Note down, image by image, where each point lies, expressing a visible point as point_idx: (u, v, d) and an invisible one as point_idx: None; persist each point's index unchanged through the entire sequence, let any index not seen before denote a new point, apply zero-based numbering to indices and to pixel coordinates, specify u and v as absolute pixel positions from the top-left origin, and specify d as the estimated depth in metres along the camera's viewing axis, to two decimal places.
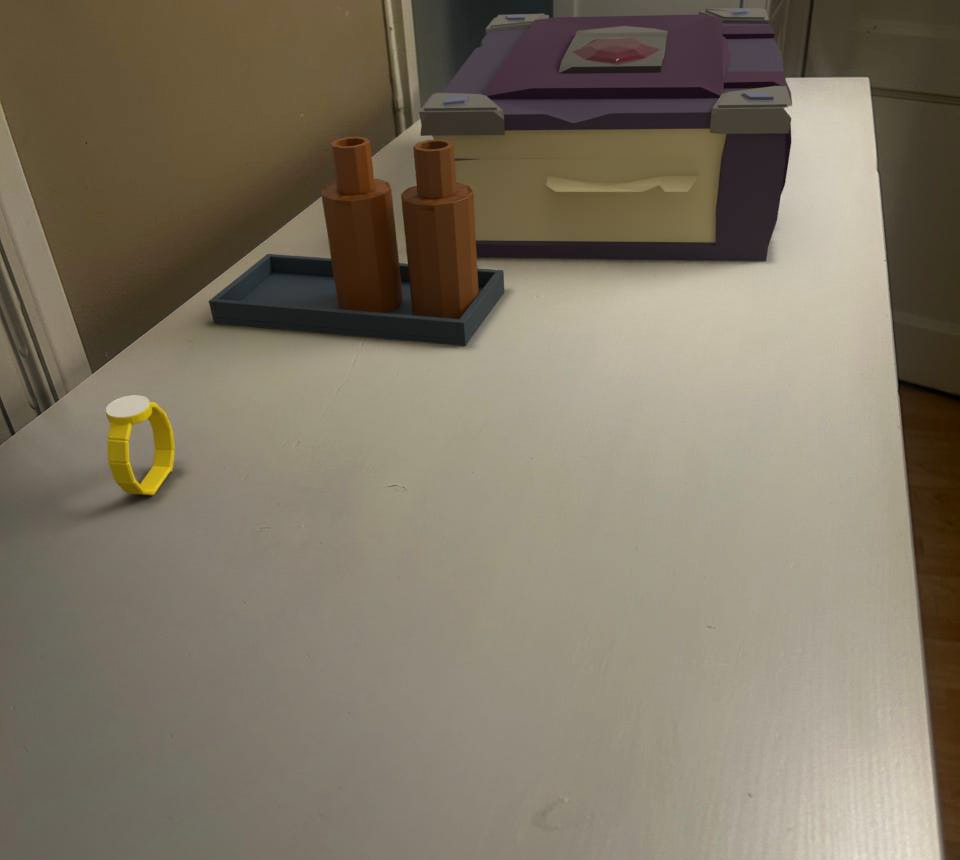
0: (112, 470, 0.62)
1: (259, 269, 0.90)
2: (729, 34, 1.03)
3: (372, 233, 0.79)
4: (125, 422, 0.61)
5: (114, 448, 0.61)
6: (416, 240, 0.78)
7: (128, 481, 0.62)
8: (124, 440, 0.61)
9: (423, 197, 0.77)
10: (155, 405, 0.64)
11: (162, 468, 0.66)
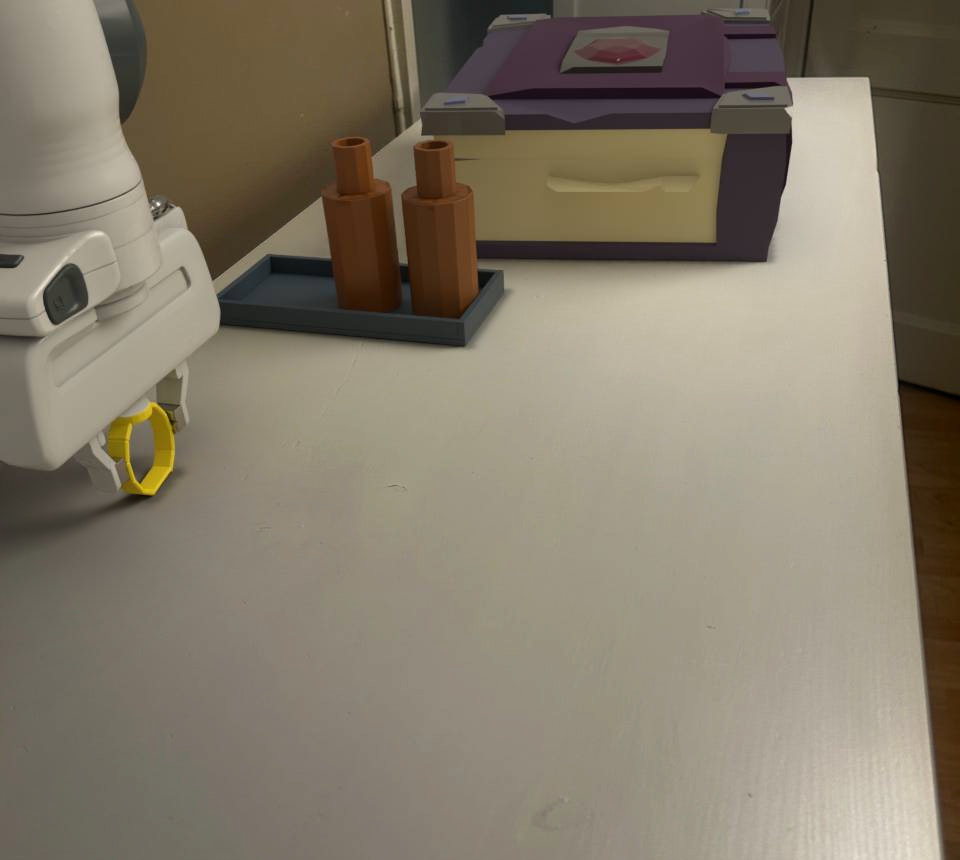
0: None
1: (259, 269, 0.90)
2: (731, 34, 1.03)
3: (372, 233, 0.79)
4: (125, 422, 0.61)
5: (114, 448, 0.61)
6: (416, 240, 0.78)
7: (128, 481, 0.62)
8: (124, 440, 0.61)
9: (423, 197, 0.77)
10: (155, 405, 0.64)
11: (162, 468, 0.66)
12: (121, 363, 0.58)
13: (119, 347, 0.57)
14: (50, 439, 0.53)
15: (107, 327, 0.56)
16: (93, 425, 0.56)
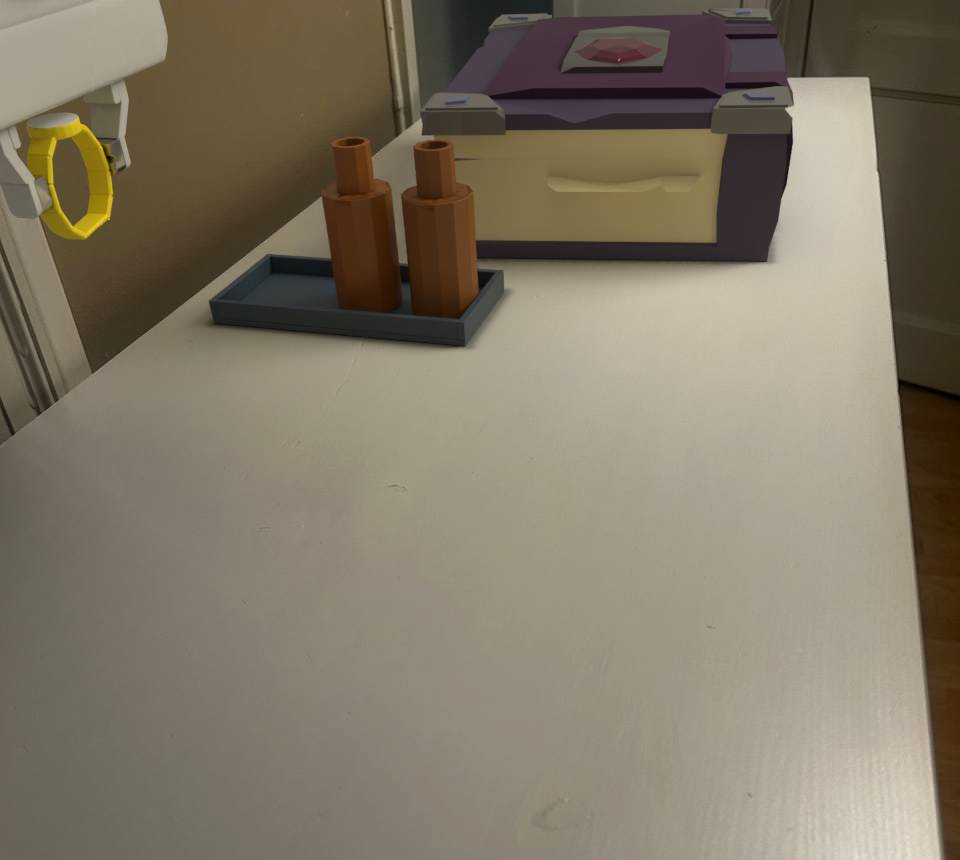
0: None
1: (259, 269, 0.90)
2: (732, 34, 1.03)
3: (372, 233, 0.79)
4: (49, 135, 0.52)
5: (35, 166, 0.52)
6: (416, 240, 0.78)
7: (53, 211, 0.53)
8: (46, 156, 0.52)
9: (423, 197, 0.77)
10: (87, 129, 0.54)
11: (97, 215, 0.57)
12: (39, 47, 0.49)
13: (35, 25, 0.48)
14: None
15: None
16: (2, 111, 0.47)
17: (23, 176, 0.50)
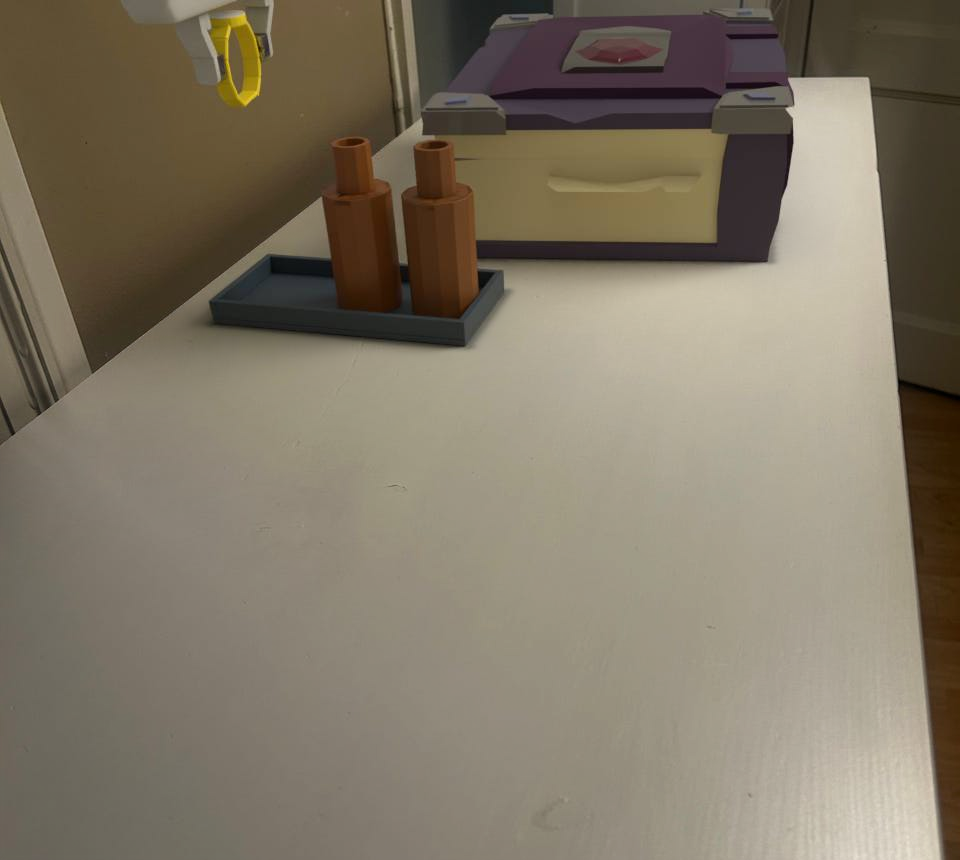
0: None
1: (259, 269, 0.90)
2: (733, 34, 1.03)
3: (372, 233, 0.79)
4: (225, 24, 0.71)
5: (215, 47, 0.71)
6: (416, 240, 0.78)
7: (226, 81, 0.72)
8: (224, 39, 0.71)
9: (423, 197, 0.77)
10: (247, 24, 0.74)
11: (250, 91, 0.76)
12: None
13: None
14: None
15: None
16: None
17: (211, 51, 0.69)
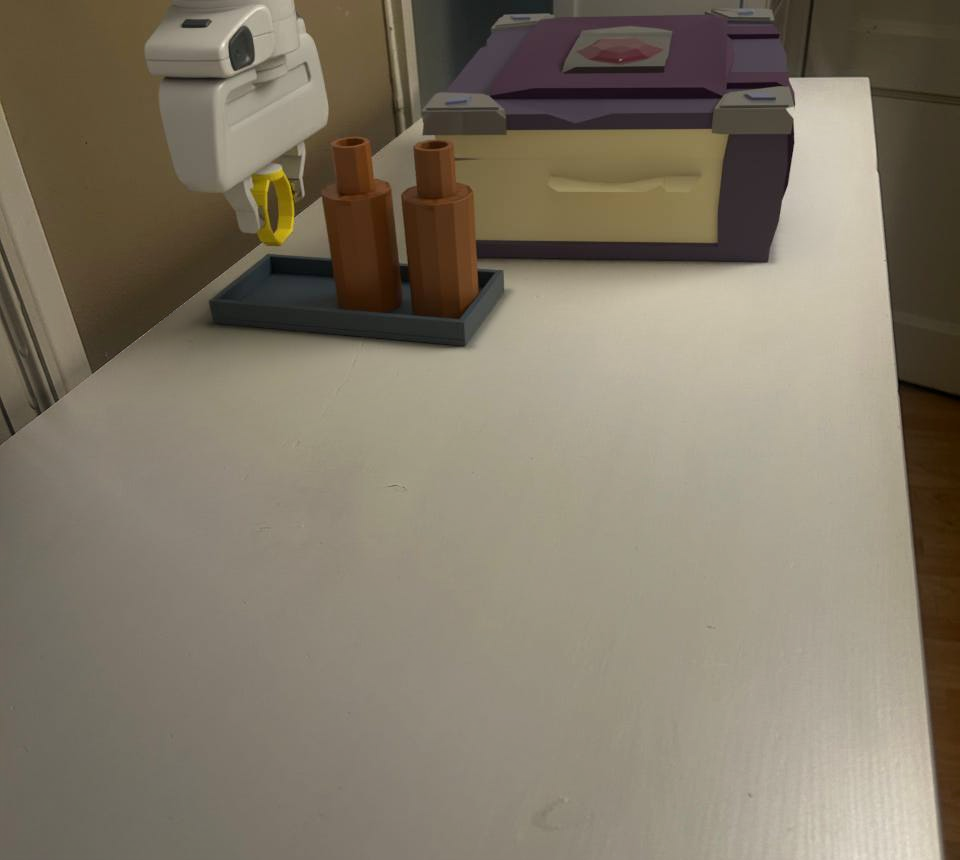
0: None
1: (259, 269, 0.90)
2: (734, 34, 1.03)
3: (372, 233, 0.79)
4: (265, 179, 0.80)
5: (256, 199, 0.80)
6: (416, 240, 0.78)
7: (265, 228, 0.81)
8: (264, 192, 0.80)
9: (423, 197, 0.77)
10: (283, 173, 0.82)
11: (285, 229, 0.85)
12: (267, 124, 0.77)
13: (265, 111, 0.76)
14: (224, 164, 0.72)
15: (258, 93, 0.75)
16: (248, 166, 0.75)
17: (253, 206, 0.78)
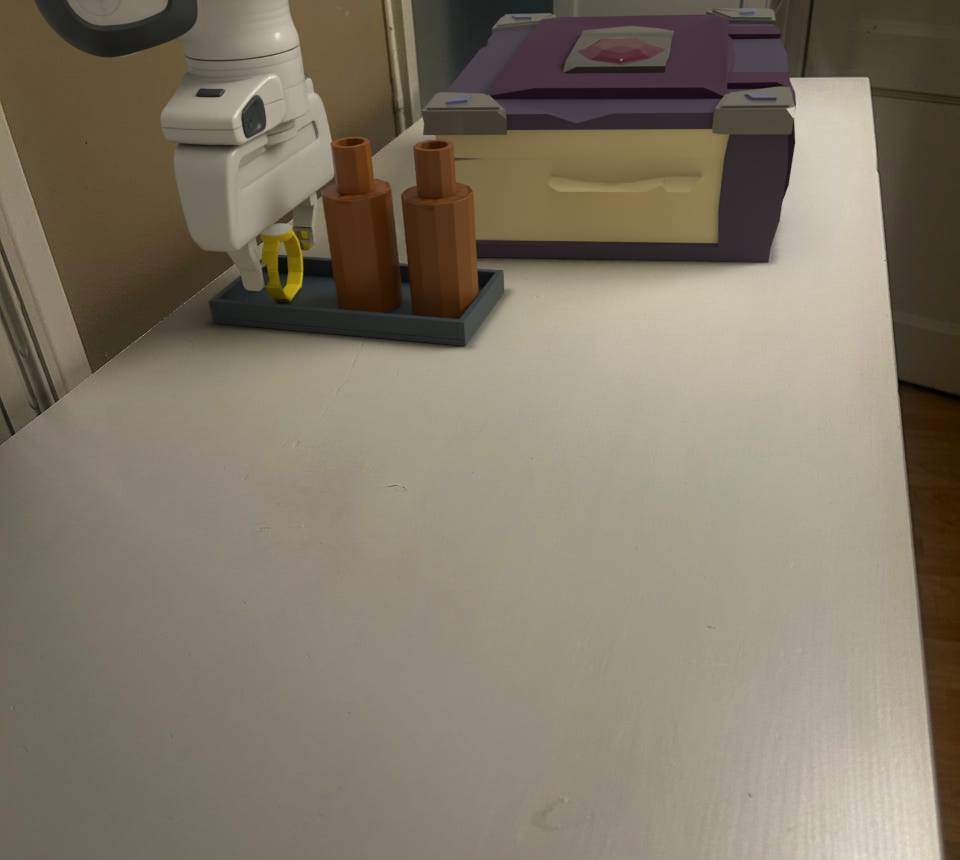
0: None
1: None
2: (735, 34, 1.03)
3: (372, 233, 0.79)
4: (275, 239, 0.83)
5: (267, 259, 0.83)
6: (416, 240, 0.78)
7: (275, 286, 0.84)
8: (275, 252, 0.83)
9: (423, 197, 0.77)
10: (293, 233, 0.86)
11: (294, 285, 0.88)
12: (276, 184, 0.79)
13: (275, 171, 0.79)
14: (236, 225, 0.75)
15: (268, 155, 0.78)
16: (259, 225, 0.78)
17: (257, 266, 0.80)
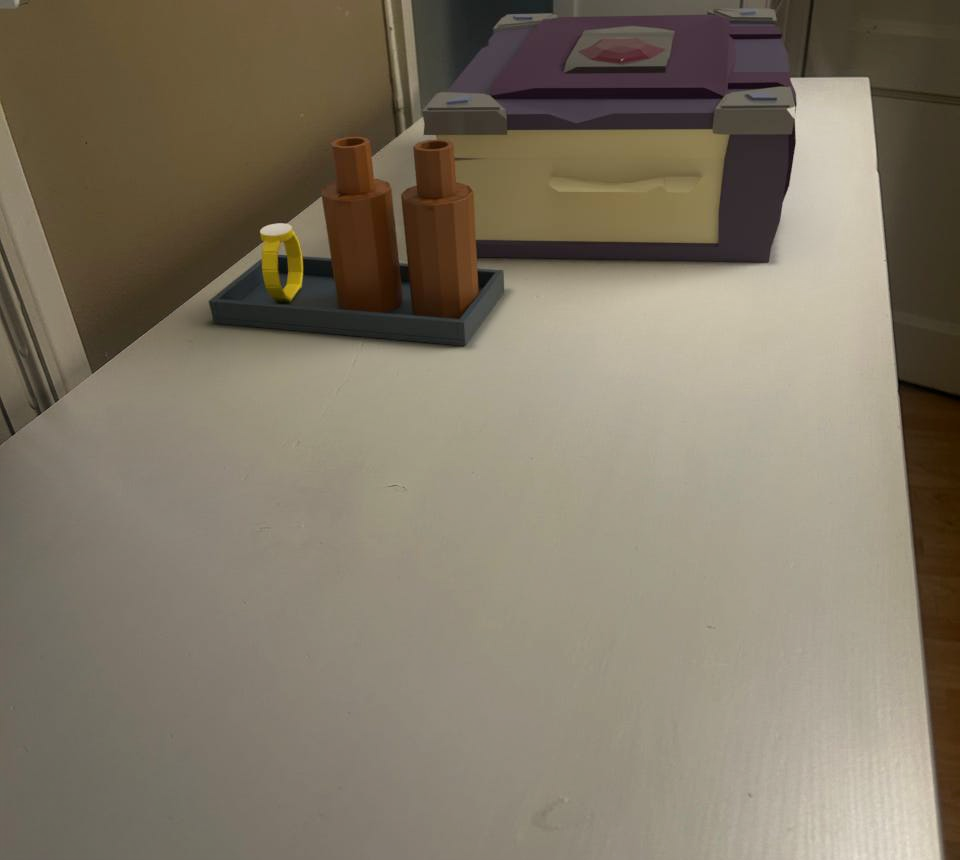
0: (264, 277, 0.84)
1: (259, 269, 0.90)
2: (736, 34, 1.03)
3: (372, 233, 0.79)
4: (275, 239, 0.83)
5: (267, 259, 0.83)
6: (416, 240, 0.78)
7: (275, 286, 0.84)
8: (275, 252, 0.83)
9: (423, 197, 0.77)
10: (293, 233, 0.86)
11: (294, 285, 0.88)
12: None
13: None
14: None
15: None
16: None
17: None
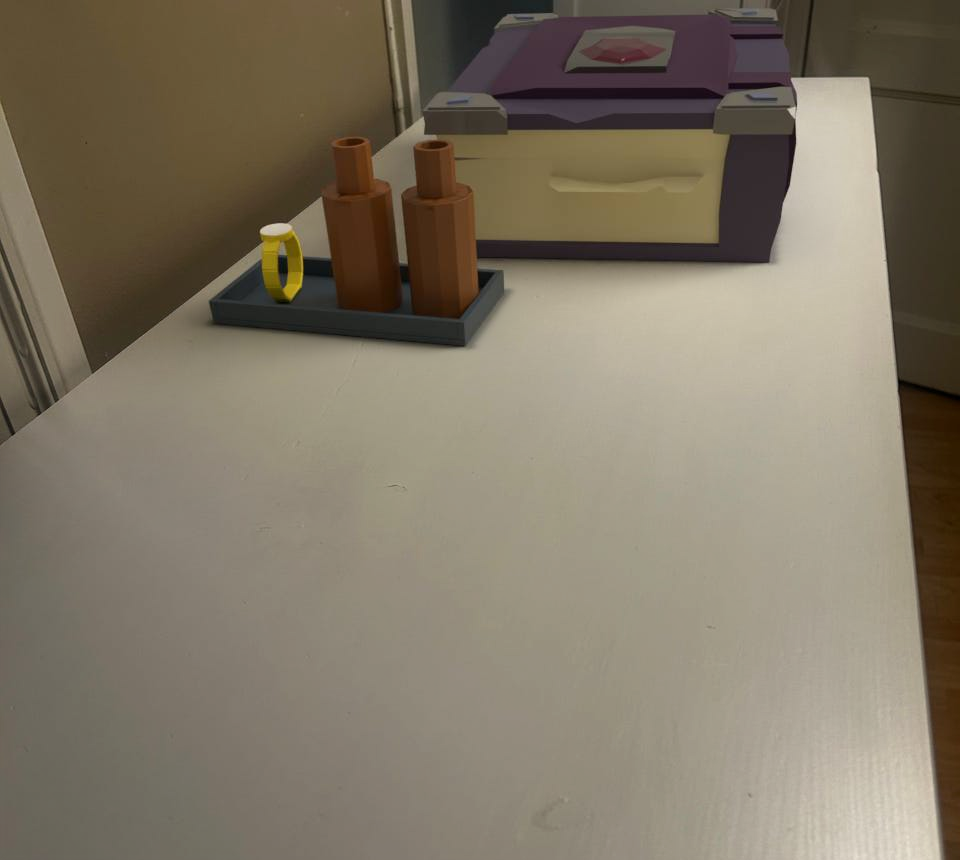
0: (264, 277, 0.84)
1: (259, 269, 0.90)
2: (737, 34, 1.03)
3: (372, 233, 0.79)
4: (275, 239, 0.83)
5: (267, 259, 0.83)
6: (416, 240, 0.78)
7: (275, 286, 0.84)
8: (275, 252, 0.83)
9: (423, 197, 0.77)
10: (293, 233, 0.86)
11: (294, 285, 0.88)
12: None
13: None
14: None
15: None
16: None
17: None
